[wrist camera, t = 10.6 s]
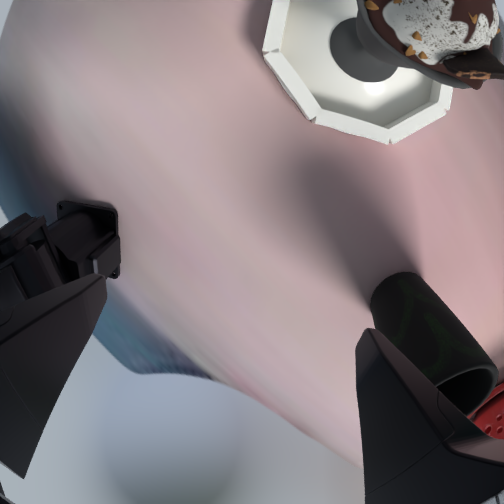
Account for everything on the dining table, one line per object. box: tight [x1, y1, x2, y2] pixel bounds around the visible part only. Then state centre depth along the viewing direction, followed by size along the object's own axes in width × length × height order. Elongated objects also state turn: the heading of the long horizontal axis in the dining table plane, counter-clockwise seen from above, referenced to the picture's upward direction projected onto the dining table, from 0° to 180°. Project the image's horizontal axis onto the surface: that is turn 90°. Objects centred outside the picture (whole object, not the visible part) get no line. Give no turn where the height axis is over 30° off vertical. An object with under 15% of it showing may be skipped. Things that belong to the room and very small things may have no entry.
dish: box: [262, 0, 453, 145], centre depth 14 cm, size 13×13×2 cm
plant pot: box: [467, 383, 504, 440], centre depth 27 cm, size 13×13×12 cm
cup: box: [370, 272, 498, 417], centre depth 18 cm, size 8×8×12 cm
